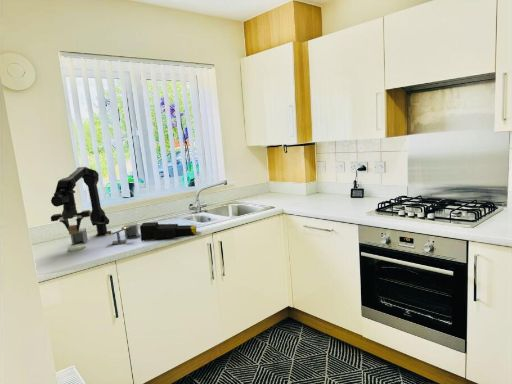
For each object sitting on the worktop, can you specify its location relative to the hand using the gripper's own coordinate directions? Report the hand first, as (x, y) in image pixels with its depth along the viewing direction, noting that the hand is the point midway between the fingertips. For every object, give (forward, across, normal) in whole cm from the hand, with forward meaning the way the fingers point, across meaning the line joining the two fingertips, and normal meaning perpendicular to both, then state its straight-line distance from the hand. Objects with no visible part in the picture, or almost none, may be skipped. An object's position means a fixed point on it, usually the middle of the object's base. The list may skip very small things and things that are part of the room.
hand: (73, 231), depth 196 cm
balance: (+10, +22, -1) cm, 24 cm away
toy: (+10, +49, -2) cm, 50 cm away
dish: (+10, 0, 0) cm, 10 cm away
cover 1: (+10, -1, +13) cm, 16 cm away
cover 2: (+10, +28, +10) cm, 31 cm away
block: (+1, 0, 0) cm, 1 cm away
